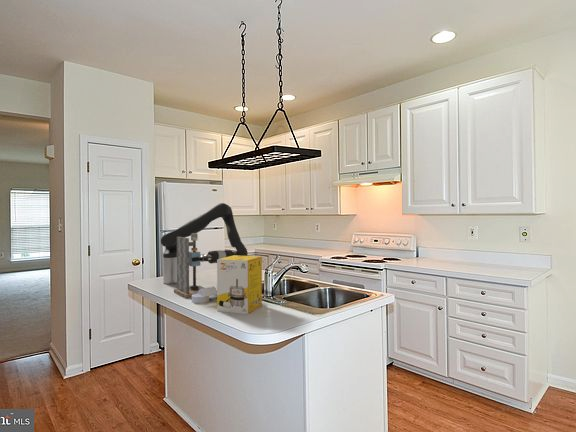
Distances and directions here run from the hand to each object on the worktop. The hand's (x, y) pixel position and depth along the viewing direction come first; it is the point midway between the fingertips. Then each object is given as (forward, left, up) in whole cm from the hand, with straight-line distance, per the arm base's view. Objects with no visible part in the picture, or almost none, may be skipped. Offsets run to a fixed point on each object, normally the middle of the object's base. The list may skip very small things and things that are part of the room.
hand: (190, 259), depth 207 cm
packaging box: (+39, +22, -20) cm, 49 cm away
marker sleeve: (-1, +2, -4) cm, 5 cm away
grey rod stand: (-1, +2, -20) cm, 20 cm away
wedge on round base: (+18, +6, -21) cm, 28 cm away
